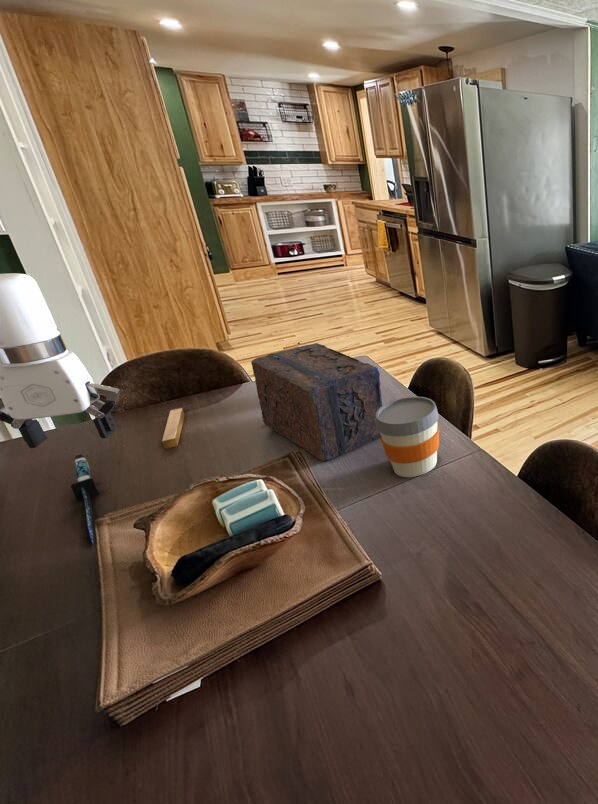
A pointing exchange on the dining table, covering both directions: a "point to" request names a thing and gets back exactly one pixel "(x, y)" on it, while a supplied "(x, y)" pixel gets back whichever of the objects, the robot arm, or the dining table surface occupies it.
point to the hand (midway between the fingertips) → (74, 439)
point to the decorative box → (319, 398)
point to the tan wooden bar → (173, 428)
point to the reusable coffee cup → (409, 434)
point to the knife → (85, 488)
